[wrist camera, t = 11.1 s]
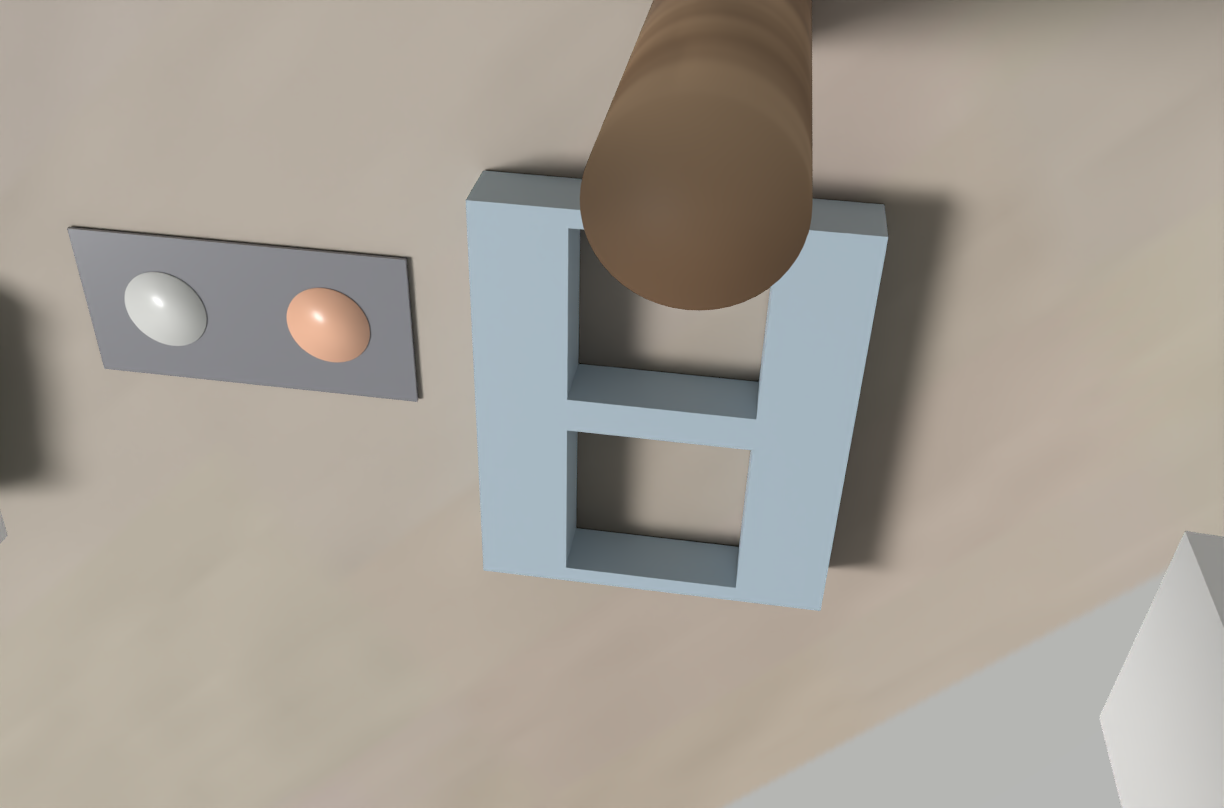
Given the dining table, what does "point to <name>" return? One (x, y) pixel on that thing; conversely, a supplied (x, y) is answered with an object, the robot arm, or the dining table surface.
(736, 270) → the peg
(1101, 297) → the dining table surface
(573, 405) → the socket board
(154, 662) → the dining table surface
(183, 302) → the card
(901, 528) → the dining table surface
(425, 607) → the dining table surface
